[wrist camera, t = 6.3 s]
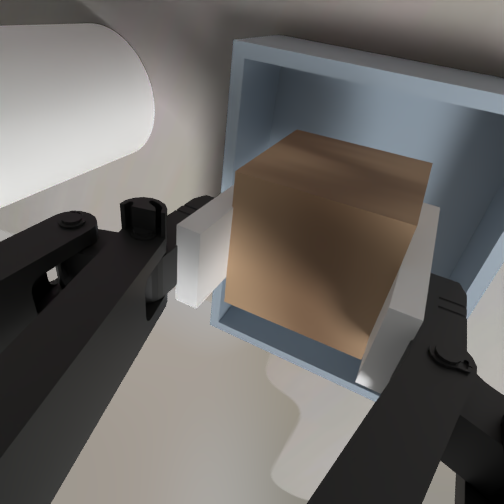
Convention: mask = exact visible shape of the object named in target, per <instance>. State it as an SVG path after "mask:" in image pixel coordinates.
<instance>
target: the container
mask: <svg viewBox="0 0 504 504" xmlns="http://www.w3.org/2000/svg"><path fill="white" fill-rule="evenodd" d="M154 116H155V106H154V97H153V91H152V87H151V84H150V81H149V78H148V75H147V72H146V70H145V68H144V66H143V64H142V62H141V60H140V58H139V57H138V55H137V54H136V52H135V51H134V50H133V48H132V47H131V46H130V45H129V44H128V42H127V41H126V40H125V39H124V38H123V37H121V36H120V35H119V34H118V33H116V32H115V31H113V30H112V29H109V28H107V27H105V26H103V25H99V24H94V23H82V24H43V25H5V26H0V208H2V207H4V206H7V205H9V204H11V203H14V202H16V201H19V200H21V199H23V198H26V197H28V196H31V195H33V194H35V193H38V192H40V191H43V190H45V189H47V188H50V187H52V186H55V185H57V184H60V183H62V182H64V181H67V180H69V179H72V178H74V177H76V176H79V175H81V174H84V173H86V172H88V171H91V170H93V169H96V168H98V167H100V166H103V165H105V164H108V163H110V162H113V161H115V160H117V159H120V158H122V157H125V156H127V155H129V154H132V153H134V152H136V151H138V150H139V149H141V148H142V147H143V146H144V145H145V143H146V142H147V140H148V139H149V137H150V135H151V132H152V129H153V125H154Z"/></svg>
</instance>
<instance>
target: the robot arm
mask: <svg viewBox="0 0 504 504" xmlns="http://www.w3.org/2000/svg"><path fill="white" fill-rule="evenodd" d="M233 191H234V185H232V186H231V187H230V188H228V189H227V190H225V191H224V192H223V193H221V194H220V195H218V196H217V197H215V198H213V197H210V196H207V195H205V196H201V197H198V198H194V199H192V200H191V201H189V202H188V203H186V204H185V205H184V206H181V207H180V208H178V209H177V211H176V210H175V211H174V212H172V213H171V214H169V215H168V216H167V208H166V205H165V204H164V203H162V202H161V201H159V200H156V199H153V198H146V197H140V198H132V199H128V200H125V201H123V202H122V203H120V210H121V223H122V229H121V230H120V231H119V232H112V231H106V230H100V229H98V226H97V220H96V218H95V216H93V215H91V214H90V213H86V212H82V211H70V212H63V213H60V214H57V215H55V216H53V217H50V218H48V219H46V220H44V221H42V222H40V223H38V224H36V225H34V226H32V227H30V228H28V229H26V230H24V231H22V232H20V233H17V234H15V235H13V236H11V237H9V238H7V239H5V240H3V241H1V242H0V504H51V502H52V500H53V499H54V497H55V495H56V493H57V492H58V490H59V488H60V487H61V485H62V483H63V481H64V480H65V478H66V476H67V474H68V473H69V471H70V469H71V467H72V466H73V464H74V463H75V461H76V459H77V457H78V456H79V454H80V452H81V450H82V449H83V447H84V445H85V444H86V442H87V440H88V439H89V437H90V435H91V433H92V432H93V430H94V428H95V427H96V425H97V423H98V421H99V419H100V418H101V416H102V414H103V413H104V411H105V409H106V407H107V406H108V404H109V403H110V401H111V399H112V397H113V396H114V394H115V392H116V391H117V389H118V387H119V385H120V384H121V382H122V380H123V378H124V377H125V375H126V373H127V372H128V370H129V368H130V367H131V365H132V363H133V361H134V359H135V358H136V356H137V355H138V353H139V351H140V350H141V348H142V346H143V344H144V342H145V341H146V339H147V337H148V336H149V334H150V332H151V331H152V329H153V327H154V326H155V323H156V322H157V320H158V319H159V317H160V315H161V314H162V312H163V310H164V308H165V307H166V303H167V293H168V292H169V291H170V290H171V289H172V288H174V287H175V286H176V300H178V301H180V302H182V303H184V304H187V305H189V306H191V307H193V308H197V307H198V306H199V305H200V304H201V303H202V302H203V301H204V300H205V299H206V298H207V297H208V296H209V295H210V294H211V293H212V291H213V290H214V289H215V288H216V287H217V286H218V285H219V284H220V283H221V282H222V281H223V280H224V279H225V278H226V275H227V264H228V254H229V245H230V235H231V226H232V216H233V207H232V203H233ZM439 212H440V207H437V206H433V205H430V204H427V203H423V205H422V209H421V213H420V217H419V221H418V225H417V228H416V230H415V232H414V235H413V237H412V240H411V242H410V244H409V247H408V249H407V252H406V254H405V256H404V259H403V261H402V264H401V266H400V268H399V271H398V273H397V275H396V278H395V280H394V282H393V284H392V287H391V289H390V291H389V293H388V296H387V298H386V300H385V302H384V305H383V307H382V309H381V311H380V314H379V316H378V318H377V320H376V323H375V325H374V327H373V329H372V332H371V334H370V336H369V339H368V342H367V346H366V349H365V352H364V355H363V358H362V362H361V365H360V368H359V371H358V375H357V378H356V381H355V382H356V383H358V384H361V385H363V386H365V387H367V388H369V389H371V390H374V391H376V392H378V393H380V394H381V395H380V396H379V398H378V399H377V401H376V402H375V404H374V405H373V407H372V408H371V409H370V411H369V412H368V414H367V415H366V417H365V418H364V420H363V421H362V423H361V424H360V426H359V427H358V429H357V430H356V432H355V433H354V435H353V436H352V438H351V439H350V441H349V442H348V444H347V445H346V446H345V448H344V449H343V451H342V452H341V454H340V455H339V457H338V458H337V460H336V461H335V463H334V464H333V466H332V467H331V469H330V470H329V472H328V473H327V475H326V476H325V478H324V479H323V481H322V482H321V483H320V485H319V486H318V488H317V489H316V491H315V492H314V494H313V495H312V497H311V498H310V500H309V501H308V503H307V504H422V502H423V500H424V497H425V495H426V493H427V490H428V488H429V485H430V483H431V481H432V479H433V476H434V474H435V472H436V469H437V467H438V464H439V462H440V460H441V461H442V462H443V463H444V464H446V465H447V466H448V467H449V468H450V469H452V470H453V471H454V472H455V473H456V486H455V504H504V395H503V394H501V393H500V392H498V391H497V390H495V389H494V388H492V387H491V386H490V385H488V384H487V383H486V382H484V381H483V380H482V379H481V378H480V377H479V376H478V375H477V366H476V364H475V362H474V360H473V358H472V357H471V355H470V354H469V353H468V352H467V318H466V317H467V309H466V308H467V295H466V293H465V291H464V290H463V288H462V286H461V285H460V283H458V282H455V281H453V280H450V279H447V278H444V277H441V276H438V275H436V274H433V273H431V267H432V260H433V253H434V246H435V239H436V233H437V226H438V219H439ZM55 266H56V271H57V276H58V278H57V279H55V280H53V281H51V282H49V281H48V277H47V273H46V272H47V271H49V270H51V269H52V268H54V267H55Z"/></svg>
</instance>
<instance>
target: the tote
mask: <svg viewBox="0 0 504 504" xmlns="http://www.w3.org/2000/svg"><path fill="white" fill-rule="evenodd" d="M297 129H298V130H302V131H306V132H310V133H314V134H318V135H322V136H326V137H330V138H334V139H338V140H342V141H346V142H350V143H354V144H358V145H362V146H366V147H370V148H374V149H378V150H382V151H386V152H390V153H394V154H398V155H402V156H406V157H410V158H414V159H418V160H422V161H426V162H430V163H433V164H432V168H431V172H430V176H429V180H428V184H427V188H426V192H425V196H424V200H423V203H427V204H430V205H433V206H437V207H440V212H439V219H438V226H437V233H436V239H435V246H434V253H433V260H432V267H431V273H433V274H436V275H438V276H441V277H444V278H447V279H450V280H453V281H455V282H458V283H460V285H461V286H462V288H463V290H464V291H465V293H466V295H467V308H466V309H467V317H466V318H467V319H468V317H469V316H470V314H471V313H472V311H473V309H474V308H475V306H476V305H477V303H478V302H479V300H480V299H481V297H482V295H483V294H484V292H485V291H486V289H487V288H488V286H489V284H490V283H491V281H492V280H493V278H494V277H495V275H496V273H497V272H498V270H499V269H500V267H501V266H502V264H503V263H504V78H502V77H496V76H491V75H486V74H481V73H476V72H470V71H465V70H460V69H455V68H450V67H444V66H439V65H434V64H429V63H424V62H418V61H413V60H408V59H403V58H398V57H392V56H387V55H382V54H377V53H372V52H366V51H361V50H356V49H351V48H346V47H340V46H335V45H330V44H325V43H320V42H314V41H309V40H304V39H299V38H294V37H289V36H283V35H271V36H262V37H253V38H244V39H235V40H233V52H232V64H231V76H230V88H229V101H228V113H227V125H226V137H225V149H224V161H223V174H222V186H221V193H223V192H224V191H225V190H227V189H228V188H230V187H231V186H232V185H234V179H235V171H236V170H238V169H239V168H241V167H242V166H243V165H245V164H246V163H248V162H249V161H251V160H252V159H254V158H255V157H257V156H258V155H260V154H261V153H263V152H264V151H266V150H267V149H269V148H270V147H271V146H273V145H274V144H276V143H277V142H279V141H280V140H282V139H283V138H285V137H286V136H288V135H289V134H291V133H292V132H294V131H295V130H297ZM225 287H226V278H225V279H224V280H223V281H222V282H221V283H220V284H219V285H218V286H217V287H216V288H215V289H214V290H213V295H212V308H211V320H210V325H212V326H214V327H216V328H218V329H220V330H223V331H225V332H227V333H229V334H231V335H233V336H235V337H238V338H240V339H242V340H244V341H246V342H248V343H251V344H253V345H255V346H257V347H259V348H261V349H263V350H265V351H268V352H270V353H272V354H274V355H276V356H278V357H280V358H283V359H285V360H287V361H289V362H291V363H293V364H295V365H298V366H300V367H302V368H304V369H306V370H308V371H310V372H313V373H315V374H317V375H319V376H321V377H323V378H325V379H328V380H330V381H332V382H334V383H336V384H338V385H340V386H343V387H345V388H347V389H349V390H351V391H353V392H355V393H358V394H360V395H362V396H364V397H366V398H368V399H370V400H373V401H375V402H376V401H377V399H378V398H379V396H380V395H381V394H380V393H378V392H376V391H374V390H371V389H369V388H367V387H365V386H363V385H361V384H358V383H356V382H355V381H356V378H357V375H358V371H359V368H360V365H361V362H362V359H361V360H360V359H358V358H356V357H353V356H351V355H348V354H346V353H344V352H341V351H339V350H337V349H334V348H332V347H330V346H327V345H325V344H323V343H320V342H318V341H316V340H313V339H311V338H308V337H306V336H304V335H301V334H299V333H297V332H294V331H292V330H290V329H287V328H285V327H283V326H280V325H278V324H276V323H273V322H271V321H269V320H266V319H264V318H261V317H259V316H257V315H254V314H252V313H250V312H247V311H245V310H243V309H240V308H238V307H236V306H233V305H231V304H229V303H226V302H224V298H225ZM362 358H363V357H362Z"/></svg>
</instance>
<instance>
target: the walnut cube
mask: <svg viewBox="0 0 504 504" xmlns="http://www.w3.org/2000/svg"><path fill="white" fill-rule="evenodd" d="M432 164H433V163H430V162H426V161H422V160H418V159H414V158H410V157H406V156H402V155H398V154H394V153H390V152H386V151H382V150H378V149H374V148H370V147H366V146H362V145H358V144H354V143H350V142H346V141H342V140H338V139H334V138H330V137H326V136H322V135H318V134H314V133H310V132H306V131H302V130H298V129H297V130H295V131H294V132H292V133H291V134H289V135H288V136H286V137H285V138H283V139H282V140H280V141H279V142H277V143H276V144H274V145H273V146H271V147H270V148H269V149H267V150H266V151H264V152H263V153H261V154H260V155H258V156H257V157H255V158H254V159H252V160H251V161H249V162H248V163H246V164H245V165H243V166H242V167H241V168H239V169H238V170H236V171H235V179H234V191H233V203H232V207H233V216H232V226H231V235H230V245H229V254H228V264H227V275H226V287H225V298H224V302H226V303H229V304H231V305H233V306H236V307H238V308H240V309H243V310H245V311H247V312H250V313H252V314H254V315H257V316H259V317H261V318H264V319H266V320H269V321H271V322H273V323H276V324H278V325H280V326H283V327H285V328H287V329H290V330H292V331H294V332H297V333H299V334H301V335H304V336H306V337H308V338H311V339H313V340H316V341H318V342H320V343H323V344H325V345H327V346H330V347H332V348H334V349H337V350H339V351H341V352H344V353H346V354H348V355H351V356H353V357H356V358H358V359H360V360H361V359H362V357H363V355H364V352H365V349H366V346H367V342H368V339H369V336H370V334H371V332H372V329H373V327H374V325H375V323H376V320H377V318H378V316H379V314H380V311H381V309H382V307H383V305H384V302H385V300H386V298H387V296H388V293H389V291H390V289H391V287H392V284H393V282H394V280H395V278H396V275H397V273H398V271H399V268H400V266H401V264H402V261H403V259H404V256H405V254H406V252H407V249H408V247H409V244H410V242H411V240H412V237H413V235H414V232H415V230H416V228H417V225H418V221H419V217H420V213H421V209H422V205H423V200H424V196H425V192H426V188H427V184H428V180H429V176H430V172H431V168H432Z"/></svg>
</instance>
